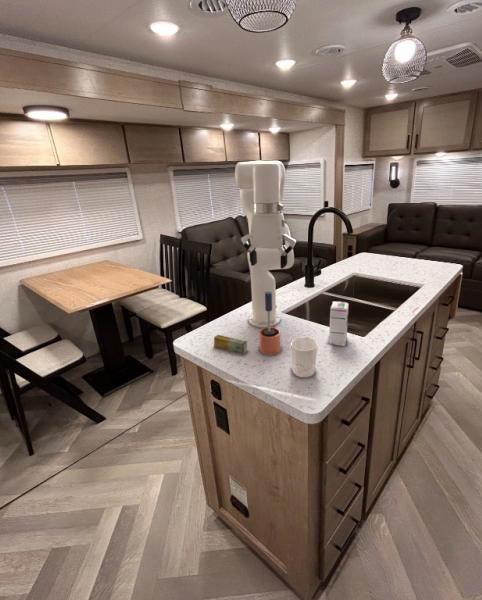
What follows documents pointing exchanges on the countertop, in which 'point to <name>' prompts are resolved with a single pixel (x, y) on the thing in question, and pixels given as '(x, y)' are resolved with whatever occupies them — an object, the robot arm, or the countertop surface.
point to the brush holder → (270, 342)
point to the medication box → (230, 344)
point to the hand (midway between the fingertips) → (268, 265)
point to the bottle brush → (268, 308)
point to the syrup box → (338, 323)
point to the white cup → (303, 356)
